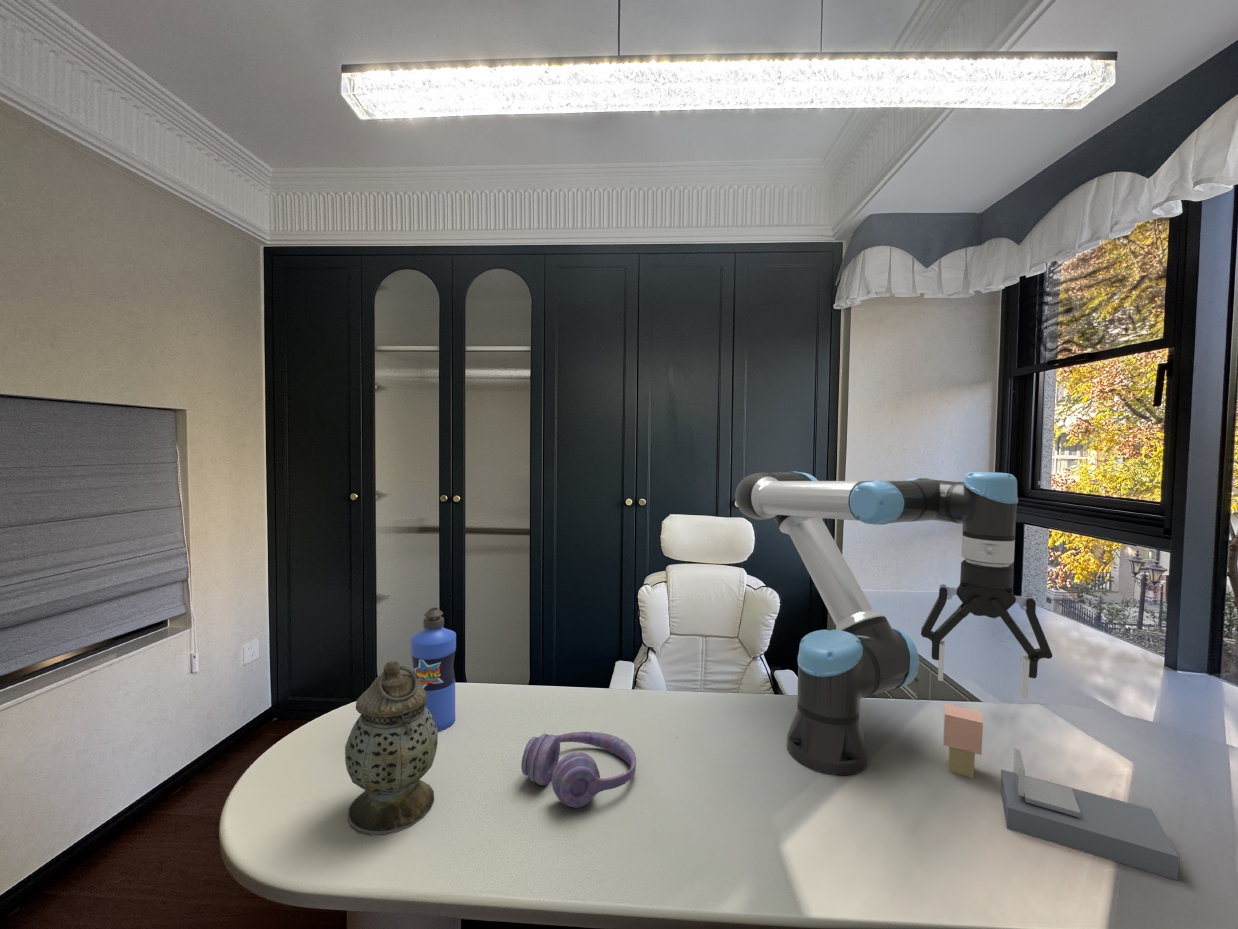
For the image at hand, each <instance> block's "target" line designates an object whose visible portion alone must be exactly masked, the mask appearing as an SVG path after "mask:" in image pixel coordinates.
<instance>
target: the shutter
mask: <svg viewBox="0 0 1238 929" xmlns="http://www.w3.org/2000/svg"><path fill="white" fill-rule="evenodd" d="M1022 756H1023V755H1022V753H1021V750H1020V749H1018V748H1017V749H1016V748H1013V767H1012V768H1013V769H1012V770H1013V771H1012V772H1013V775H1014V780H1015V784H1016V789H1017V794H1018V795H1019V796H1022V797H1024V799H1025V802H1027V803H1030V804H1034V805H1037V806H1041V807H1044V808H1048V809H1051V810H1055V811H1058V812H1062V813H1065V814H1069V815H1072V816H1076V817H1080V816H1081V812H1080V810H1079V807H1078V804H1077V802H1076V799H1075V796H1074V794H1073V791H1072V789H1071V788H1072V787H1070V788H1067V787H1068V786H1067V787H1064V786H1065V785H1063V786H1060V785H1061V784H1059V785H1056V784H1057V783H1055V784H1052V783H1053V782H1051V783H1048V782H1049V781H1048V782H1045V781H1046V780H1044V781H1041V780H1042V779H1040V780H1037V779H1038V778H1036V779H1033V778H1034V777H1032V778H1029V777H1030V776H1028V777H1026V776H1027V775H1026V769H1025V765H1024V761H1023V757H1022Z"/></svg>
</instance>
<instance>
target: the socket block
mask: <svg viewBox="0 0 1238 929" xmlns="http://www.w3.org/2000/svg"><path fill="white" fill-rule="evenodd" d="M1025 776H1026V777H1029V778H1033V779H1037V780H1041V781H1045V782H1048V783H1052V784H1056V785H1060V786H1064V787H1067V788H1071V789H1072V791H1073V794H1074V796H1075V799H1076V802H1077V804H1078V807H1079V810H1080V812H1081V816H1080V817H1076V816H1072V815H1069V814H1065V813H1062V812H1058V811H1055V810H1051V809H1048V808H1044V807H1041V806H1037V805H1034V804H1030V803H1027V802H1025V799H1024V797H1022V796H1019V795H1018V794H1017V789H1016V784H1015V780H1014V775H1013V771H1009V770H1005V769H1000V787H999V788H1000V793H1001V794H1000V795H1001V801H1002V808H1003V813H1004V819H1005V826H1006V829H1009V830H1011V831H1014V832H1018V833H1021V834H1025V835H1028V836H1031V837H1035V838H1038V839H1042V840H1044V841H1048V842H1051V843H1055V844H1057V845H1060V846H1064V847H1067V848H1071V849H1072V850H1073V849H1074V850H1077V851H1080V852H1084V853H1085V854H1086V853H1087V854H1090V855H1093V856H1097V857H1100V858H1103V859H1107V860H1110V861H1113V862H1116V863H1120V864H1123V865H1126V866H1129V867H1133V868H1134V869H1135V868H1136V869H1139V870H1142V871H1146V872H1149V873H1152V874H1154V875H1159V876H1160V877H1161V876H1162V877H1165V878H1168V879H1172V880H1175V881H1178V873H1179V862H1180V861H1179V858H1180V856H1179V855H1178V853H1177V851H1176V849H1175V847H1174V846H1173V844H1172V842H1171V840H1170V839H1169V837H1168V835H1167V834H1166V832H1165V830H1164V829H1163V826H1162V825H1161V823H1160V822H1159V820H1158V818H1157V816H1156V815H1155V813H1154V811H1153V809H1152V808H1150V807H1146V806H1142V805H1137V804H1134V803H1131V802H1127V801H1123V800H1119V799H1116V798H1112V797H1108V796H1105V795H1100V794H1096V793H1094V792H1088V791H1085V790H1081V789H1078V788H1074V787H1069V786H1066V785H1062V784H1059V783H1056V782H1055V783H1054V782H1052V781H1051V782H1050V781H1047V780H1044V779H1043V780H1042V779H1040V778H1036V777H1031V776H1028V775H1025Z"/></svg>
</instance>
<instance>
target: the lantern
mask: <svg viewBox="0 0 1238 929" xmlns="http://www.w3.org/2000/svg"><path fill="white" fill-rule="evenodd" d="M426 701H427V692H426V691H425V690H424V689H423V688H422V687H421V686H420V685H419V684H418V680H417V677H416V675H415V674H414V670H412V669H411V668H408V667H406V666H402V665H400V663H399V662H398V661H396V660H389V661H388V662H386V663H385V664H384V667H383V671H382V673H381V674H380V675H379V676H377V677H376V678H375V679H374V681H373V682H372V683H371V685H370V686H369V687H368V688H367V689H366V690H365V691H363V693H362V694H361V695H360V696H359V697H358V698H357V699H356V701H355V710H356V711H357V713H358V714H360V715H359V716H358V718H357V720H356V721H355V723H354V724H353V726H352V729H351V730H350V733H349V735H348V738H347V741H346V744H345V745H344V761H345V767H346V771H347V774H348V775H349V778H350V780H351V783H353V785H354V784H355V785H356V786H358V787H359V788H361V789H362V790H363V792H362V793H360V794H359V795H358V796H357V797H356V798H355V799H354V800H353V801H352V802H351V803H350V805H349V807H348V808H347V822H348V824H349V826H350V828H351V829H352V830H354V831H355V832H357V833H358V834H364V835H367V836H384V835H389V834H394V833H397V832H401V831H402V830H405V829H407V828H409V827H412V826H413V825H414V824H416V823H418V822H419V821H421V820H422V819H423V818H425V817H426V816H427V814H428V813H429V812H430V811H431V810H432V807H433V805H434V803H435V795H434V794H435V793H434V792H435V791H434V790H433V788H432V787H431V785H430V784H428V783H426V782H424V781H422V780H421V779H422V778H423V777H424V776H425V775H426V774H427V772H428V771H429V770H430V769H431V768H432V766H433V764H434V763H433V762H434V760H435V757H436V754H437V751H438V750H437V749H438V744H439V743H438V740H439V739H438V735H439V732H438V730H437V727H436V724H435V721H434V719H433V716H432V715H431V713H430V711H429V710H428V709H427V707H426V706H425V702H426Z"/></svg>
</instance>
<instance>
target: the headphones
mask: <svg viewBox="0 0 1238 929" xmlns="http://www.w3.org/2000/svg"><path fill="white" fill-rule="evenodd" d="M562 743H577V744H579V743H580V744H585V745H588V746H589V745H590V746H594V747H598V748H600V749H602V750H605V751H607V752H609V753H611V754H613V755H615V756H617V757H619V758H620V759H622V760H623V761H625V762H627V764H629V765H630V769H629V770H628V771H627V772H626V773H624V772H622V773H621V774H618V775H615V776H611V777H605V778H601V772H600V771H599V768H598V765H597V762H596V760H594V758H593V757H592V756H591V755H589V754H588V753H585V752H581V751H574V752H570V753H568V754H566V755H565V756H563V757H562V758H561V759H560V754H561V744H562ZM559 759H560V760H559ZM520 766H521V767H520V768H521V772H522V775H524V776H527V777H528V779H529V781H531V782H532V783H535V784H538V785H539V786H546V785H548V784H549V783H550V782H551V787H552V790H553V793H554V795H555V796H556V797H557V799H558V800H559V802H561V803H562V804H563V805H564V806H568V807H571V808H581V807H584V806H585V805H587V804H589V803H590V802H591V801H592V800H593V798H594V797H595V796H596V795H598V794H599V793H600V792H604V791H607V790H613V789H617V788H619V787H621V786H623V785H626V783H628V782H629V781H631V780H632V779H633V778H634V776H635V774H636V768H637V756H636V753H635V751H634V749H633V747H632V746H631V745H630V744H629V743H628V742H626V741H625V740H624V739H622V738H620V737H618V736H615V735H612V734H609V733H604V732H595V731H577V732H576V731H575V732H569V733H564V734H563V733H562V734H560V735H559V734H556V735H555V734H546V733H543V734H541V735H540V736H538V737H537V736H533V737H531V738H530V739H529V740H528V742H527V744H526V745H525V748H524V750H523V755H522V758H521V765H520Z"/></svg>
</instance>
